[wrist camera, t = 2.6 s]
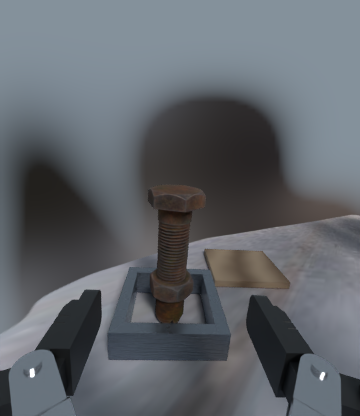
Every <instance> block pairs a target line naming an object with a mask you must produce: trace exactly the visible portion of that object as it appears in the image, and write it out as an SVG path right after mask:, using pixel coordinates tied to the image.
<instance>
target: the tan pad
mask: <svg viewBox="0 0 360 416" xmlns="http://www.w3.org/2000/svg"><path fill="white" fill-rule="evenodd" d="M204 255H205V258H206V261H207V264H208V268H209V270H210V271H211V275H212V278H213V281H214V284H215V287H248V288H284V289H289V286H290V282H289V281H288V280H287V278H286V277H285V276H284V275H283V274H282V273H281V272H280V270H279V269H278V268H277V267H276V266H275V265H274V264H273V263H272V261H271V260H270V259H269V258H268V257H267V256H266V255H265V253H264V252H263V251H243V250H217V249H205V251H204Z"/></svg>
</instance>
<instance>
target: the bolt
mask: <svg viewBox="0 0 360 416" xmlns="http://www.w3.org/2000/svg"><path fill="white" fill-rule="evenodd" d="M205 198H206V196H205V195H204V193H203V192H202V190H200V189H198V188H194V187H189V186H183V185H157V186H154V187H152V188H150V189H149V190H148V201H149V203H150V204H151V206H152V207H153V208H154V209H158V220H159V228H158V229H159V234H158V261H157V262H158V263H157V269H155V270H154V271H153V272H152V273H151V274H150V282H149V283H150V289H151V292H152V295H153V297H155V298H156V308H155V310H156V311H155V312H156V317H157V318H158V320H159V321H160V322H161V323H171V321H173V323H178V321H179V319H180V317H181V316H182V314H183V307H184V306H183V305H184V299H186V298H187V297H188V296H189V295H190V294H191V293H192V291H193V283H194V282H193V279H192V277H191V275H190V273H189V272H188V271H187V269H186V265H187V257H188V245H189V244H188V241H189V229H190V222H191V218H192V211H193V210H196V209H200V208H204V207H205Z"/></svg>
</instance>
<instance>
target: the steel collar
mask: <svg viewBox="0 0 360 416" xmlns="http://www.w3.org/2000/svg"><path fill="white" fill-rule="evenodd" d="M155 269H157V268H139V267H130V268H129V271H128V274H127V277H126V280H125V283H124V286H123V289H122V292H121V295H120V298H119V301H118V304H117V307H116V310H115V313H114V316H113V319H112V322H111V325H110V328H109V331H108V353H109V360H216V361H227V357H228V350H229V344H230V337H231V334H230V330H229V327H228V324H227V321H226V318H225V315H224V312H223V309H222V306H221V302H220V299H219V296H218V293H217V290H216V287H215V284H214V281H213V278H212V275H211V271H210V270H201V269H187V271H188V272H189V273H190V275H191V277H192V279H193V282H194V283H193V291H192V293H191V294H201V299H202V303H203V308H204V313H205V318H206V323H207V324H180V323H130V322H131V318H132V313H133V309H134V304H135V300H136V295H137V292H144V293H152V292H151V289H150V283H149V282H150V274H151V273H152V272H153V271H154V270H155Z"/></svg>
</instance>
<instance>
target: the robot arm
mask: <svg viewBox="0 0 360 416" xmlns="http://www.w3.org/2000/svg"><path fill="white" fill-rule="evenodd" d="M101 317H102V311H101V291H100V290H84V292H83V293H82V295H81V297H80V299H79V300H72V301H70V302H69V303H68V304H66V305H65V306H64V307H63V308H62V310H61V311H60V313H59V314H58V317H57V318H56V319H55V321H54V323H53V324H52V325H51V327H50V328H49V330H48V331H47V333H46V334H45V336H44V337H43V339H42V340H41V342H40V343H39V345H38V346H37V348H36V349H35V351H32V352H30V353H28V354H26V355H24V356H23V357H21V358H20V359H19V360H18V361H16V362H15V364H14V365H13V366H12V368H10V369H7V370H3V371H0V416H76V414H75V411H74V408H73V404H72V402H71V399H70V397H67V396H73V395H74V392H75V389H76V387H77V384H78V382H79V379H80V377H81V374H82V371H83V369H84V366H85V364H86V361H87V359H88V356H89V353H90V351H91V348H92V346H93V343H94V341H95V338H96V335H97V333H98V330H99V327H100V324H101ZM246 325H247V330H248V333H249V336H250V338H251V340H252V343H253V345H254V347H255V350H256V352H257V354H258V357H259V359H260V361H261V364H262V366H263V368H264V371H265V373H266V375H267V378H268V380H269V382H270V385H271V387H272V389H273V392H274V394H275V396H276V397H286V399H287V401H288V403H289V404H288V408H287V412H286V416H360V379H356V378H353V377H350V376H346V375H343V374H340V373H338V371H337V370H336V368H335V367H334V366H333V365H332V364H331V363H330V362H328V361H327V360H325V359H324V358H322V357H320V356H318V355H315V354H314V353H313V352H312V350H311V349H310V347H309V346H308V345H307V343H306V342H305V340H304V339H303V338H302V336H301V335H300V333H299V332H298V330H296V328H295V326H294V325H293V323H291V320H290V319H289V318H288V316H287V315H286V313H285V312H283V311H282V310H281V309H280V308H278V307H277V306H273V305H272V304H271V302H270V301H269V299H268V298H267V296H257V295H252V296H251V297H250V301H249V307H248V313H247V319H246Z"/></svg>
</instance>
